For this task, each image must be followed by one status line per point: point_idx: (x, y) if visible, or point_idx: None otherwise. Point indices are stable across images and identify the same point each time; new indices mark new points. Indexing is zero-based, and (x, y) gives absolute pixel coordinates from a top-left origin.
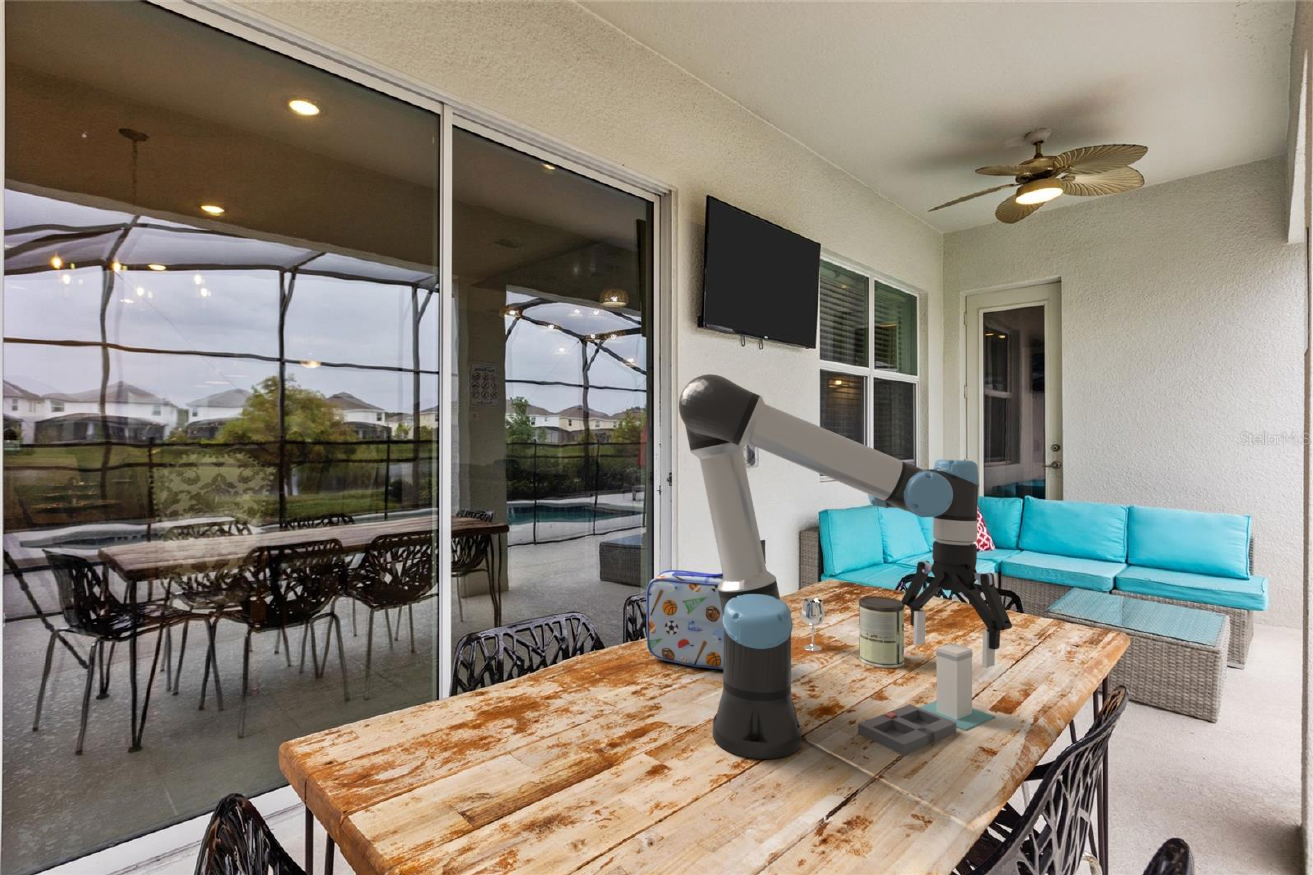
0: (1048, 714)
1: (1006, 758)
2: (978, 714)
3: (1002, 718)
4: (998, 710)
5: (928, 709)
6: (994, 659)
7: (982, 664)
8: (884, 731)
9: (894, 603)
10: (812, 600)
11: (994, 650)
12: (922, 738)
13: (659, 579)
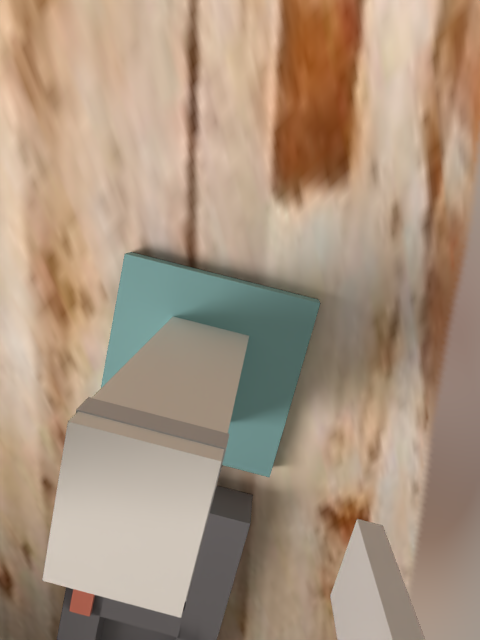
0: (473, 64)
1: (396, 533)
2: (269, 329)
3: (332, 247)
4: (303, 176)
5: None
6: (392, 554)
7: (333, 608)
8: (103, 623)
9: None
10: None
11: (410, 607)
12: None
13: None
